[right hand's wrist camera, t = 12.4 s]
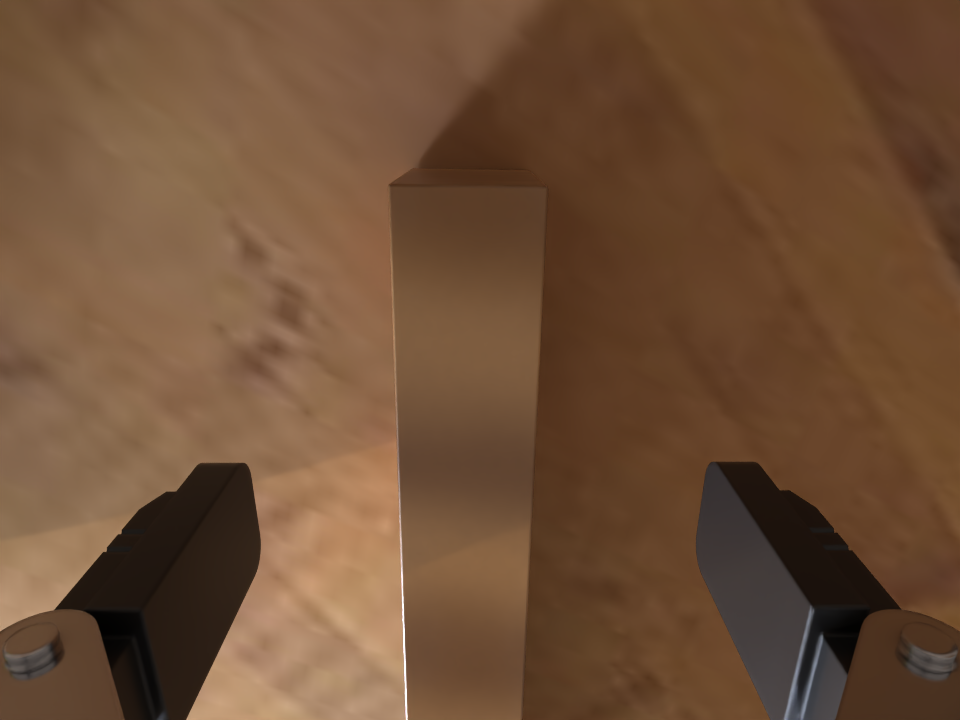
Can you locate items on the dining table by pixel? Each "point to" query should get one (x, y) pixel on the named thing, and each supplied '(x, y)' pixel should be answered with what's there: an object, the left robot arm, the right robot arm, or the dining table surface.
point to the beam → (466, 430)
